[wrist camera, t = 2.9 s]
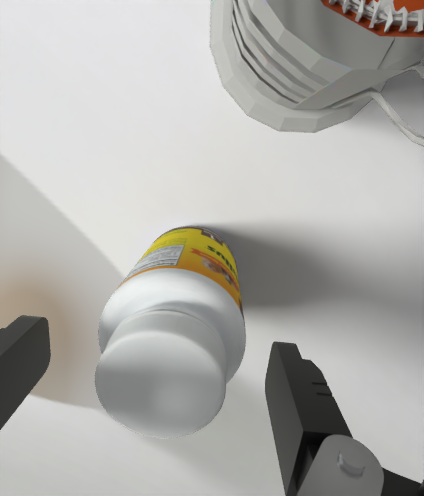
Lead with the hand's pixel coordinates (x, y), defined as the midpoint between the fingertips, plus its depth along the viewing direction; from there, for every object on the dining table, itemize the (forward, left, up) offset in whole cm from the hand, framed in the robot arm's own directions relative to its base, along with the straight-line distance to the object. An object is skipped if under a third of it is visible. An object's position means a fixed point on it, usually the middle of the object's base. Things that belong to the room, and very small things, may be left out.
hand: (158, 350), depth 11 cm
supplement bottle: (0, 0, -9) cm, 9 cm away
